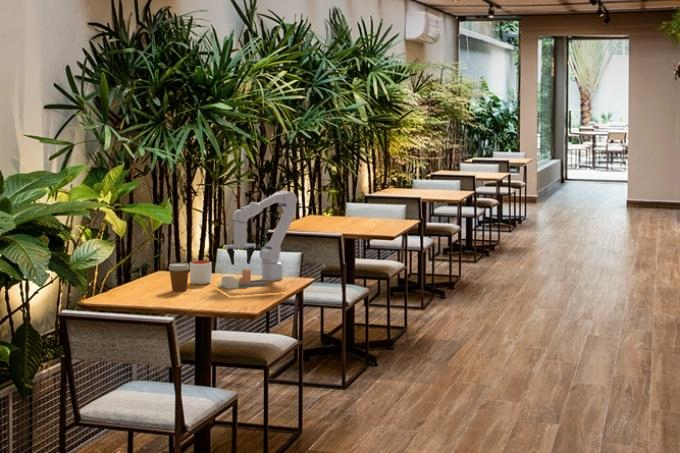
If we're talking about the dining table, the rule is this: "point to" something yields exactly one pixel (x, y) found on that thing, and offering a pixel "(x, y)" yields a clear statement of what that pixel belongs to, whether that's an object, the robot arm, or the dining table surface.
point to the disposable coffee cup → (179, 276)
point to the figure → (245, 277)
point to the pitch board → (234, 283)
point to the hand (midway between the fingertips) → (240, 264)
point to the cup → (200, 272)
